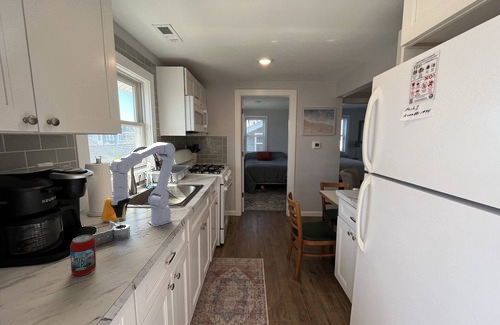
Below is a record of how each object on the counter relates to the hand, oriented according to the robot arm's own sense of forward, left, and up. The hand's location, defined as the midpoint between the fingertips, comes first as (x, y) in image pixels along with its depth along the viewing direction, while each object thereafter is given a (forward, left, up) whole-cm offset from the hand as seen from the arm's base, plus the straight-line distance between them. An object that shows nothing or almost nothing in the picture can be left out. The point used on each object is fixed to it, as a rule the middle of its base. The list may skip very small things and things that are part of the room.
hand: (121, 215), depth 98 cm
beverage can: (+18, +18, -11) cm, 28 cm away
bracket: (-6, -26, -11) cm, 29 cm away
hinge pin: (0, 0, -2) cm, 3 cm away
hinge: (+4, -4, -10) cm, 12 cm away
